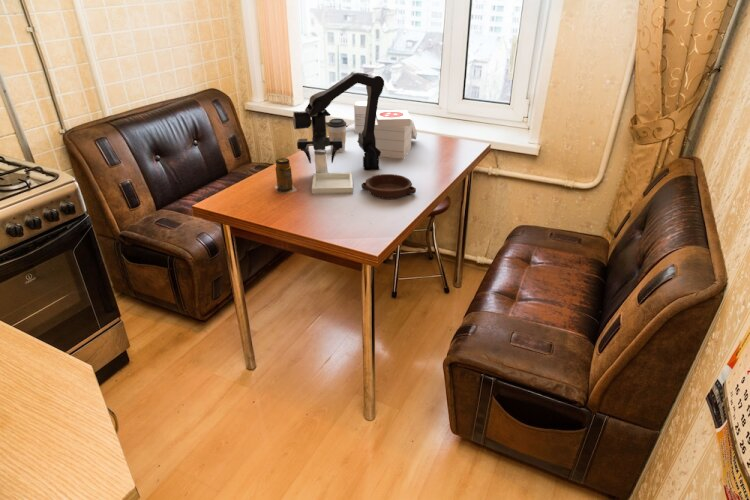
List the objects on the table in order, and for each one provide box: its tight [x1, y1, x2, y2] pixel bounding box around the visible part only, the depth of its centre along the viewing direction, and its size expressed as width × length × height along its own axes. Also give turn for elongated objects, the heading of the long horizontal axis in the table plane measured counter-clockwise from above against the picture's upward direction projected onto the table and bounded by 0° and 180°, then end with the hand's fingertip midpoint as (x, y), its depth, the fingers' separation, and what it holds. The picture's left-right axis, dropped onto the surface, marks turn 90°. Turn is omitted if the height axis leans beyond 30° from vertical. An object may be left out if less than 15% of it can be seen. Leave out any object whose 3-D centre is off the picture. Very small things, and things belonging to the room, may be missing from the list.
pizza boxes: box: [374, 109, 418, 160], centre depth 232 cm, size 19×30×18 cm, turn 163°
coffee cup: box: [327, 118, 347, 154], centre depth 230 cm, size 9×9×15 cm
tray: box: [311, 172, 354, 195], centre depth 195 cm, size 16×16×2 cm
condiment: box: [273, 157, 298, 195], centre depth 190 cm, size 7×8×12 cm
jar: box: [314, 149, 328, 173], centre depth 205 cm, size 5×5×10 cm
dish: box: [361, 173, 417, 200], centre depth 189 cm, size 18×22×5 cm
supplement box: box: [353, 100, 367, 134], centre depth 257 cm, size 9×9×15 cm
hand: (321, 162), depth 205 cm, fingers open, 9 cm apart
